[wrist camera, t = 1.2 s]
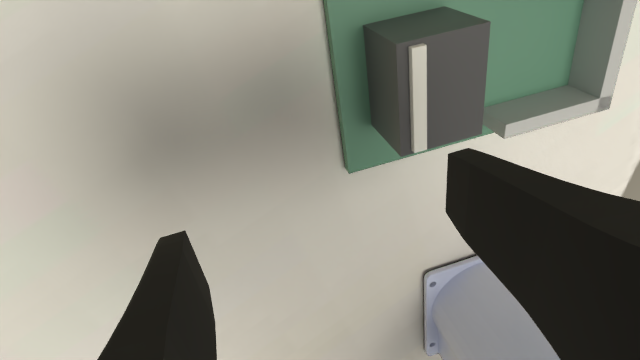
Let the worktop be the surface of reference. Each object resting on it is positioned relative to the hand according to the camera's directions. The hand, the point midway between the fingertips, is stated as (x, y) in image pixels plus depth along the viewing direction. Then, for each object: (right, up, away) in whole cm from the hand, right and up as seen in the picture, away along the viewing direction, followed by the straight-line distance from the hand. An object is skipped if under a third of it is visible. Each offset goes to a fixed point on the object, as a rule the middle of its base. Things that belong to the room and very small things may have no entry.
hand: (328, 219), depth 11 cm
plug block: (+4, +6, +9) cm, 12 cm away
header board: (+8, +8, +10) cm, 15 cm away
